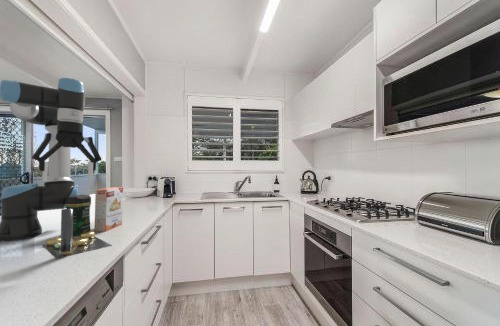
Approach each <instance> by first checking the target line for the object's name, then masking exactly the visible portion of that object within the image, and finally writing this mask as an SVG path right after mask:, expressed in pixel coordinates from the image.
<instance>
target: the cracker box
mask: <svg viewBox="0 0 500 326" xmlns="http://www.w3.org/2000/svg"><path fill="white" fill-rule="evenodd" d="M123 197H124V187H120V186H119V187H117V186H115V187H114V186H113V187H107V188H106V187H105V188H98V189H95V202H94V203H95V204H94V205H95V206H94V230H93V231H94V232H95V233H96V232H99V233H100V232H103V233H104V232H109V231H110V230H112V229H115V228H117V227H119V226H122V225H123V204H124V203H123V202H124V201H123V199H124V198H123Z"/></svg>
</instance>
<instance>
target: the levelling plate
mask: <svg viewBox="0 0 500 326" xmlns="http://www.w3.org/2000/svg"><path fill="white" fill-rule="evenodd" d="M80 237H87V238H89V242H88V243H87V244H85V245H81V246H78V247H77V248H76V249H75V250H74V251H73V252H72V253H71V254H66V255H62V252H61V236H56V237H50V238H48V239H46V243H44V244H41V246H42V247H43V248H44V249H45V250H46V251H47V252H48V253H50V254H51V256H53V257H54V258H55V259H56V260H58V259H62V258H66V257H70V256H75V255H79V254H84V253H87V252H88V253H89V252H92V251H96V250H99V249H103V248H108V247H112V246H113V245H112V244H110V243H109V242H106V241H105V240H102V239H100V238H99V237H97V236H96V231H94V230H93V231H92V230H90V231H89V232H83V233H81V235H80ZM80 237H78V238H80Z"/></svg>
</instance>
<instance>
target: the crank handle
mask: <svg viewBox="0 0 500 326" xmlns="http://www.w3.org/2000/svg"><path fill="white" fill-rule="evenodd" d="M60 210H61V215H60V218H61V219H60V237H61V252H62V255H66V254H71V253H72V252H73V251H74V250H75V249H76V248H77V247H78V246H81V245H85V244H87V243H88V242H89V238H87V237H81V236H80V238H79V237H75V238H74V236H73V209H67V208H65V209H60Z"/></svg>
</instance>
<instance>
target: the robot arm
mask: <svg viewBox="0 0 500 326" xmlns="http://www.w3.org/2000/svg"><path fill="white" fill-rule="evenodd" d="M84 95H85V86H84V83H83V82H82V81H80V80H78V79H75V78H70V77H62V78H58V83H57V88H52V87H48V86H42V85H35V84H31V83H25V82H20V81H17V80H7V79H3V80H1V81H0V100H1V101H2V102H7V103H10V105H9V110H10V112H11V113H12V115H13V116H14V117H16V118H17V119H19V120H22V121H23V122H26V123H28V124H33V125H38V126H44V130H46V131H47V132H48V133H45V134H44V139H43V141H42V142H41V144H40V145H39V146H38V148H37V149H36V150H35V151H34V153H33V155H32V156H31V159H32V160H34V161H37V162H38V171H39V172H42V181H44V182H43V185H42V186H41V185H40V186H39V183H37V182H36V183H25V184H24V183H23V184H19V185H16V184H15V185H12V186H7V187H5V188H3V190H2V191H1V197H0V199H1V214H0V217H1V219H0V242H6V241H7V242H10V241H17V240H23V239H24V240H25V239H29V238H33V237H36V236H39V235H41V234H42V233H43V228H42V225H41V223H40V220H39V217H38V212H41V211H53V210H55V211H56V210H63V209H67V208H66V199H67V198H68V197H70V196H75V195H79V194H78V193H79V192H78V191H79V185H78V184H75V181H74V180H73V179H72V178H71V148H75V149H76V148H77V149H78V150H80V152H81V153H82V154H83V155H84V156H85V157H86V158H87V159H88V160H89V161H90V162H88V163H87V164H88V166H87V179H88V180H93V179H94V171H97V170H96V169H97V162H102V160H103V159H102V156H101V155H100V153H99V151H98V149H97V148H96V146H95V143H94V139H93V136H87V137H86V136H85V137H84V124H83V122H84V100H85V99H84ZM83 142H85V143H87V144H86V145H87V146H88V148H89V150H90V151H89V150H88V149H87V148H86V146H85V145H84V144H83ZM47 146H48V151H46V152H45V153H44V154H43V152H44V151H45V149H46V148H47ZM91 153H92V154H91ZM42 154H43V155H42ZM41 155H42V156H41ZM46 160H48V161H46Z"/></svg>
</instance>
